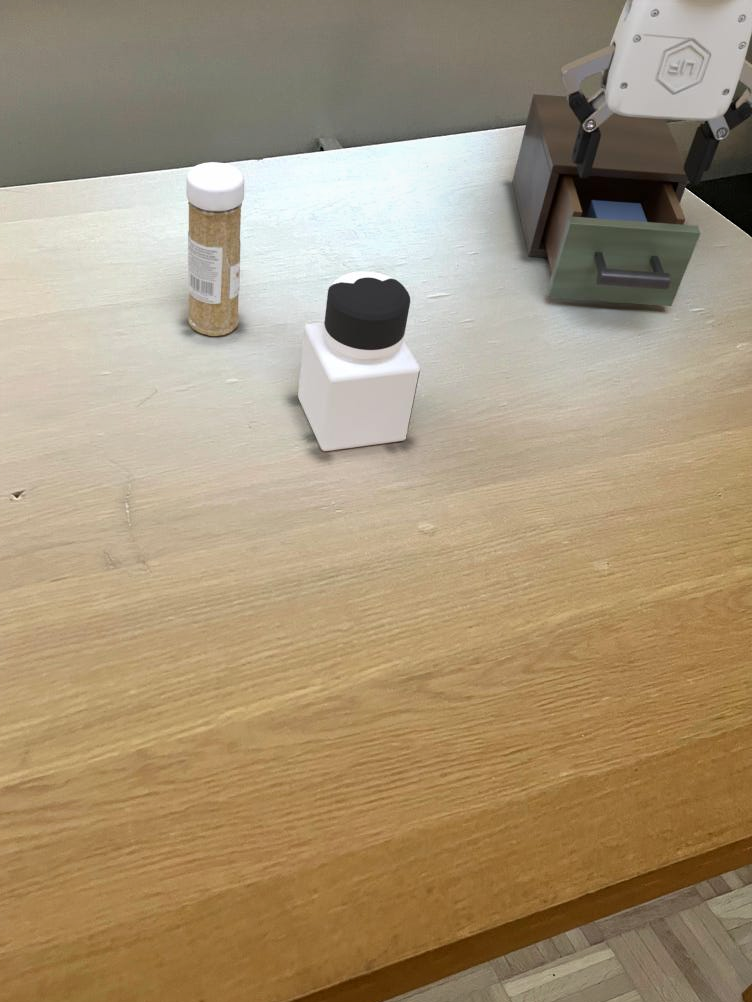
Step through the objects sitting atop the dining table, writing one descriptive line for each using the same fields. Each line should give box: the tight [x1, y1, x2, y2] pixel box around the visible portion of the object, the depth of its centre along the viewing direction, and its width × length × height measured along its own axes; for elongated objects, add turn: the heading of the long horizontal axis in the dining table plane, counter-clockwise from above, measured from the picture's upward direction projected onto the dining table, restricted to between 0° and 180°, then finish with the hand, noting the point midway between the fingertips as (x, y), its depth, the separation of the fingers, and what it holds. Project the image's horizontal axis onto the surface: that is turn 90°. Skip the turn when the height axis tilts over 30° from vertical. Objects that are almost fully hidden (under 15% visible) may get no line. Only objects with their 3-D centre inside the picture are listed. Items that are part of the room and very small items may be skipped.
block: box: [586, 200, 647, 222], centre depth 97 cm, size 5×5×5 cm
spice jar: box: [185, 161, 245, 337], centre depth 87 cm, size 5×5×14 cm
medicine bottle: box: [297, 270, 421, 452], centre depth 81 cm, size 7×7×12 cm
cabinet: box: [511, 93, 689, 259], centre depth 104 cm, size 15×13×9 cm
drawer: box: [543, 174, 701, 307], centre depth 97 cm, size 18×11×7 cm, turn 178°
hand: (636, 174), depth 93 cm, fingers open, 9 cm apart
